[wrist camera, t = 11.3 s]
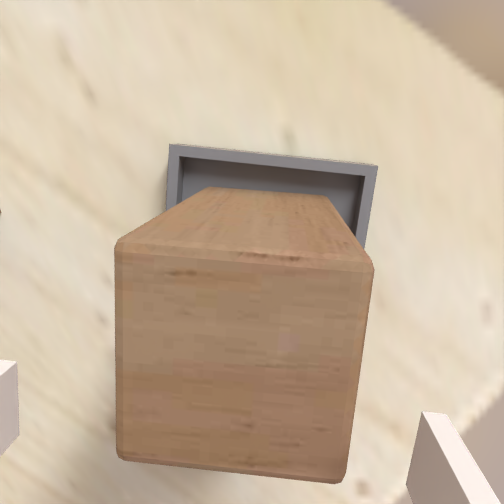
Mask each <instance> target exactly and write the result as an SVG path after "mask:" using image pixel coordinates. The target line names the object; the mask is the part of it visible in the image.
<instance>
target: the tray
mask: <svg viewBox="0 0 504 504" xmlns="http://www.w3.org/2000/svg"><path fill="white" fill-rule="evenodd" d="M377 170H378V166H376V165H373V164H364V163H355V162H345V161H336V160H326V159H317V158H307V157H298V156H288V155H279V154H269V153H260V152H250V151H240V150H231V149H221V148H212V147H202V146H193V145H183V144H169V160H168V179H167V198H166V211H167V210H169V209H170V208H172V207H174V206H176V205H177V204H179V203H181V202H182V201H184V200H186V199H187V198H189V197H191V196H192V195H194V194H196V193H198V192H199V191H201V190H203V189H204V188H207V187H222V188H235V189H248V190H262V191H275V192H288V193H301V194H314V195H324V196H326V197H328V199H329V200H330V202H331V203H332V204H333V206H334V207H335V209H336V210H337V212H338V213H339V214H340V216H341V217H342V219H343V220H344V222H345V223H346V225H347V226H348V227H349V229H350V230H351V232H352V233H353V235H354V236H355V237H356V239H357V240H358V242H359V243H360V245H361V246H362V247H363V249H364V247H365V241H366V235H367V229H368V223H369V218H370V212H371V206H372V200H373V194H374V188H375V182H376V176H377Z"/></svg>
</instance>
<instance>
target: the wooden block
mask: <svg viewBox="0 0 504 504" xmlns="http://www.w3.org/2000/svg"><path fill="white" fill-rule="evenodd" d="M114 255H115V361H116V451H117V455H118V457H119V458H121V459H123V460H125V461H133V462H142V463H151V464H160V465H169V466H178V467H187V468H196V469H205V470H213V471H222V472H231V473H240V474H249V475H258V476H267V477H276V478H285V479H294V480H302V481H311V482H320V483H329V484H336V483H341V481H342V480H343V478H344V476H345V473H346V469H347V461H348V454H349V447H350V440H351V433H352V426H353V419H354V411H355V404H356V397H357V390H358V383H359V376H360V369H361V362H362V354H363V347H364V340H365V333H366V326H367V319H368V312H369V304H370V297H371V290H372V283H373V276H374V267H373V263H372V260H371V259H370V257H369V256H368V255H367V253H366V252H365V250H364V249H363V247H362V246H361V245H360V243H359V242H358V240H357V239H356V237H355V236H354V235H353V233H352V232H351V230H350V229H349V227H348V226H347V225H346V223H345V222H344V220H343V219H342V217H341V216H340V214H339V213H338V212H337V210H336V209H335V207H334V206H333V204H332V203H331V202H330V200H329V199H328V197H326V196H324V195H314V194H301V193H288V192H275V191H262V190H248V189H235V188H222V187H207V188H204V189H203V190H201V191H199V192H198V193H196V194H194V195H192V196H191V197H189V198H187V199H186V200H184V201H182V202H181V203H179V204H177V205H176V206H174V207H172V208H170V209H169V210H167V211H165V212H164V213H162V214H160V215H159V216H157V217H155V218H153V219H152V220H150V221H148V222H147V223H145V224H143V225H142V226H140V227H138V228H136V229H135V230H133V231H131V232H130V233H128V234H126V235H125V236H123V237H121V238H120V239H118V241H117V243H116V245H115V248H114Z"/></svg>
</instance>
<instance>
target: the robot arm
mask: <svg viewBox="0 0 504 504" xmlns="http://www.w3.org/2000/svg"><path fill="white" fill-rule="evenodd" d="M18 436H19V405H18V375H17V362H15V361H7V360H0V456H1V455H2V454H3V453H4V452H5V451H6V449H7V448H8V447H9V446H10V445H11V444H12V443H13V442H14V440H15V439H16V438H17V437H18ZM406 486H407V488H408V491H409V494H410V497H411V499H412V502H413V504H501V503H500V502H499V500H498V498H497V497H496V495H495V493H494V492H493V490H492V489H491V487H490V485H489V484H488V482H487V481H486V479H485V477H484V475H483V474H482V472H481V470H480V469H479V467H478V465H477V464H476V462H475V461H474V459H473V457H472V456H471V454H470V452H469V451H468V449H467V447H466V446H465V444H464V442H463V441H462V439H461V437H460V436H459V434H458V433H457V431H456V429H455V428H454V426H453V424H452V423H451V421H450V419H449V418H448V416H447V414H440V413H432V412H424V411H422V413H421V418H420V422H419V427H418V431H417V436H416V441H415V445H414V450H413V454H412V459H411V463H410V468H409V472H408V477H407V481H406Z"/></svg>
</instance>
